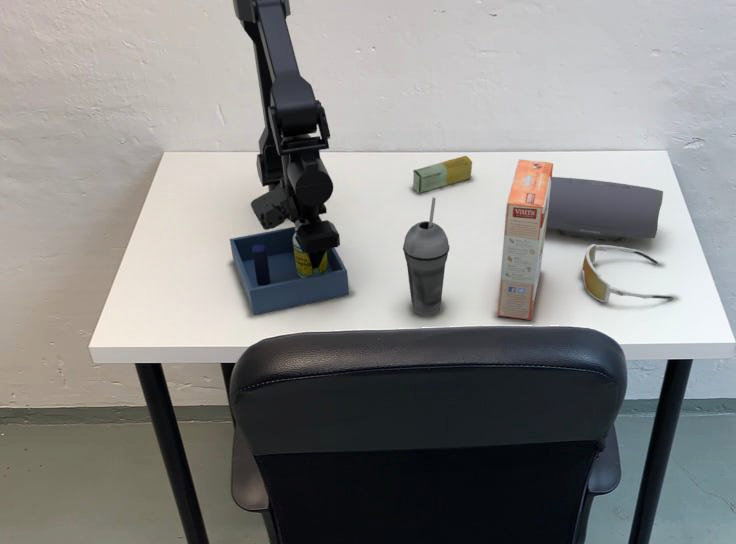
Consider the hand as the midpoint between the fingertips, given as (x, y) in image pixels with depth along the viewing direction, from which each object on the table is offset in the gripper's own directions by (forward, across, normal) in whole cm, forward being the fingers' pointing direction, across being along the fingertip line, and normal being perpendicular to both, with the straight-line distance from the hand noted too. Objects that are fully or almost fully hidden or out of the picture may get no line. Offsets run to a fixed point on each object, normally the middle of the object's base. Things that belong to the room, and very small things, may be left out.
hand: (311, 258), depth 151 cm
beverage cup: (+3, +16, +15) cm, 22 cm away
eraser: (+3, 0, -8) cm, 9 cm away
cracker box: (+3, +18, +31) cm, 36 cm away
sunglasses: (+3, +21, +49) cm, 53 cm away
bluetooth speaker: (+3, +5, +51) cm, 51 cm away
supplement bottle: (+3, 0, 0) cm, 3 cm away
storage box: (+3, 0, -4) cm, 5 cm away
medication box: (+3, -21, +32) cm, 38 cm away
